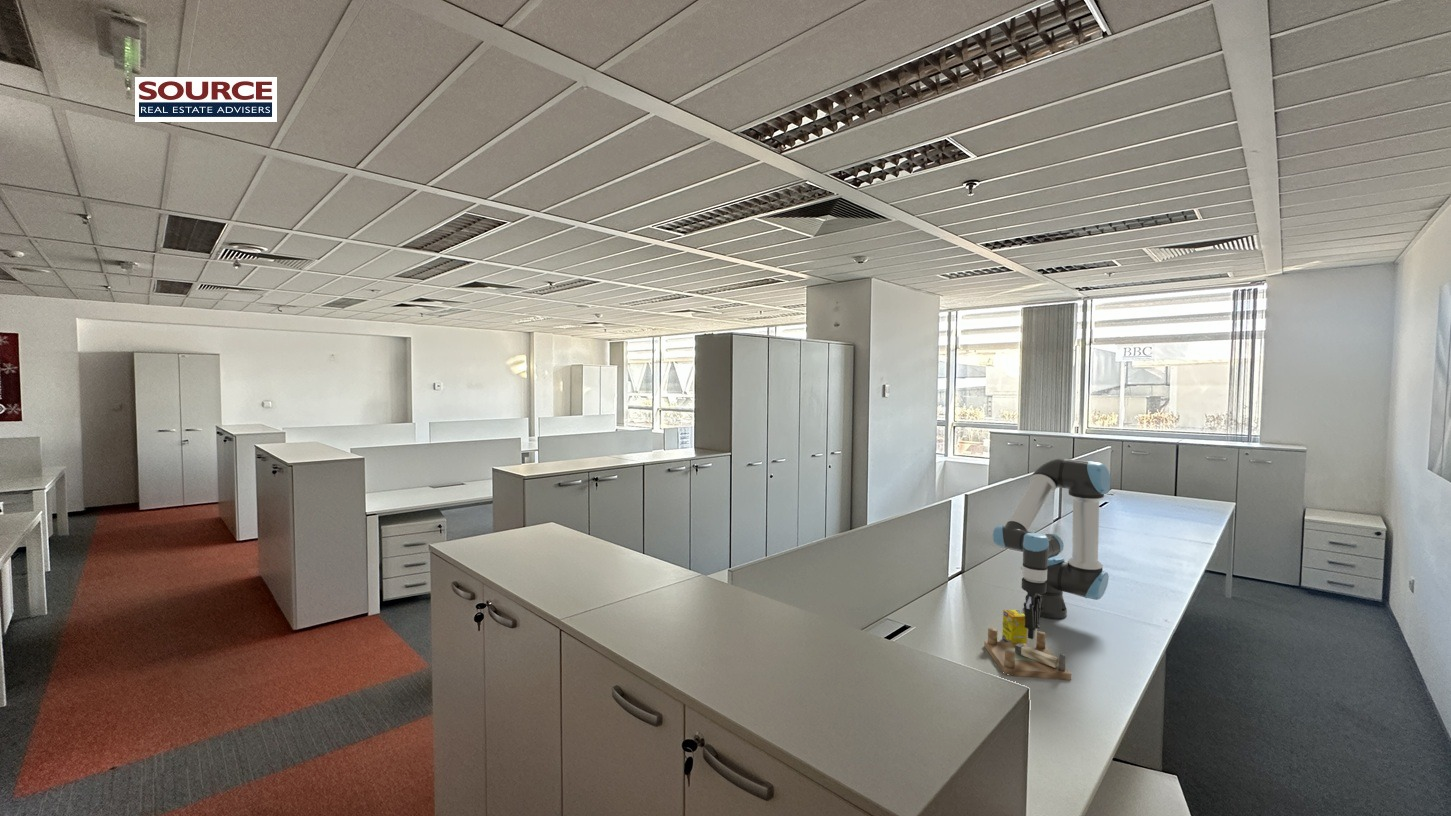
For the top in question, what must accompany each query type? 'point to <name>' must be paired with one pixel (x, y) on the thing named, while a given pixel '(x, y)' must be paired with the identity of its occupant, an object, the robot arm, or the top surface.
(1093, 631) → the top surface
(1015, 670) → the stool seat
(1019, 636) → the supplement box
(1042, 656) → the stool leg
